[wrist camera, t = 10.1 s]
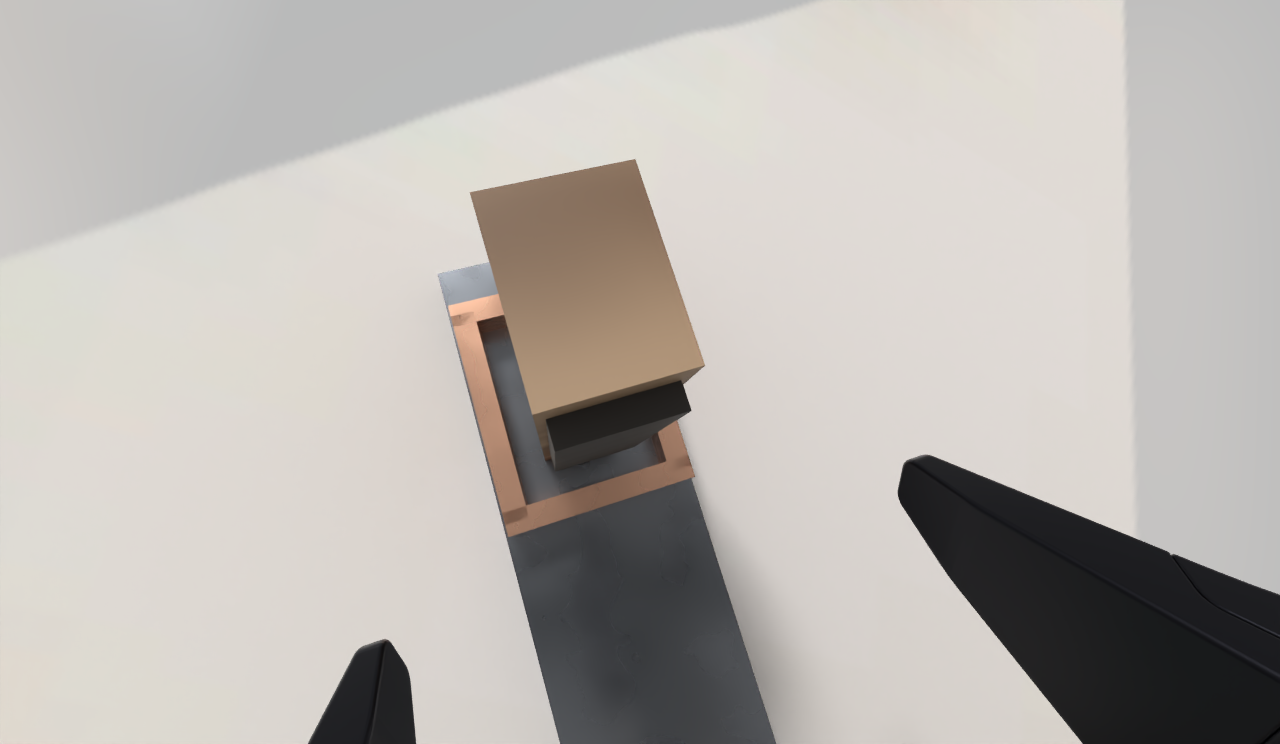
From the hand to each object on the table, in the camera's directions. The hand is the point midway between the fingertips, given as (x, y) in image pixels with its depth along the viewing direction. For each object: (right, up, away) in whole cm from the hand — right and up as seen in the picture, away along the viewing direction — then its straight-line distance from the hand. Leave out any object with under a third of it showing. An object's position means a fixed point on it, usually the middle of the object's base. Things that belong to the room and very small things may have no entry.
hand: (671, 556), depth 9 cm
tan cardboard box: (-3, +2, +12) cm, 12 cm away
